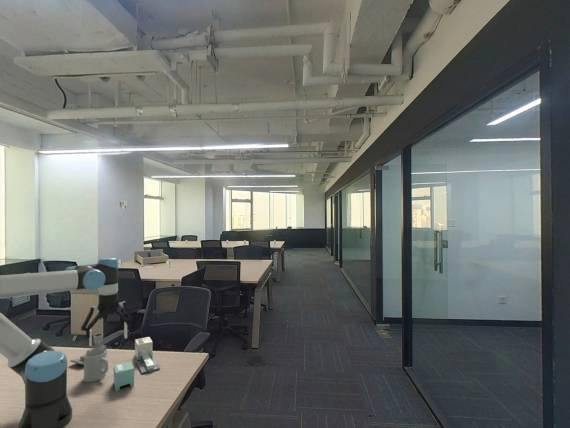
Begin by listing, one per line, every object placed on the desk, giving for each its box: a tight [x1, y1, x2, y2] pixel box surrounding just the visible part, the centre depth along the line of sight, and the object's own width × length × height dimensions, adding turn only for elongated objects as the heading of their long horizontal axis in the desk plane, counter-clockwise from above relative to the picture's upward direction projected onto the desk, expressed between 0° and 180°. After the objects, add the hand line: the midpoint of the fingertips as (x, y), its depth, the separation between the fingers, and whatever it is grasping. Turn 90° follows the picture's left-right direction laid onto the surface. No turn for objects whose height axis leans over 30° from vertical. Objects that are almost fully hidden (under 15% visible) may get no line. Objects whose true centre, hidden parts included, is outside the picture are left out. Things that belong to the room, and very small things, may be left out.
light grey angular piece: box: [133, 336, 161, 375], centre depth 155 cm, size 22×8×9 cm, turn 34°
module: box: [113, 361, 135, 392], centre depth 135 cm, size 8×7×8 cm
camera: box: [69, 332, 107, 366], centre depth 157 cm, size 9×12×15 cm
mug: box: [83, 349, 109, 383], centre depth 140 cm, size 12×8×11 cm
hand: (108, 341), depth 136 cm, fingers open, 13 cm apart
